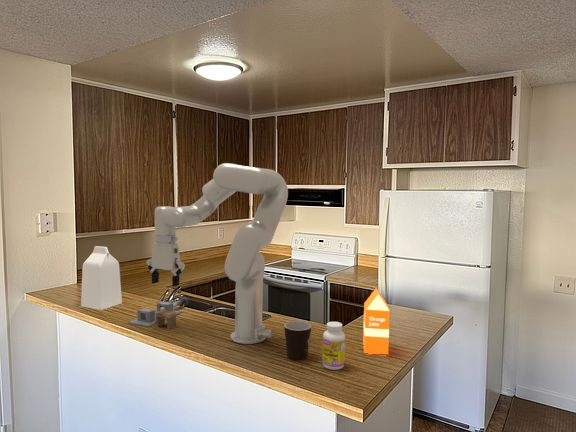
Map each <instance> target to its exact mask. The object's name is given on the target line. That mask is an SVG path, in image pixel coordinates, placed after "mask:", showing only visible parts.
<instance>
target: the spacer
mask: <svg viewBox="0 0 576 432" xmlns="http://www.w3.org/2000/svg"><path fill="white" fill-rule="evenodd" d="M165 318H167V320H165ZM166 324H167V325H166ZM164 325H166V329H168V330H171V329H173V328H175V327H177V315H176V312H173V311H167V310H161V311H158V312H156V324H155V327H156V328H159V327H161V326H164Z"/></svg>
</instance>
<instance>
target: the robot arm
mask: <svg viewBox="0 0 576 432" xmlns="http://www.w3.org/2000/svg"><path fill="white" fill-rule="evenodd" d="M212 177H213V178H212V179H211V180H209V181H208V182H207V183H205V184H204V185H203V186H202V196H201V197H200V198H199V199H198V200H197V201H195V202H193V203H192V204H191V205H185V206H168V205H167V206H166V205H165V206H161V205H160V206H156V208H155V209H154V243H153V245H152V252H151V258H149V259H147V260H146V261H145V263H146V265H147V268H148V270H149V273H150V274H151V284H157V283H159V281H160V277H159V276H160V273H159V270H163V271H170V272H171V273H172V274H173V275H172V280H171V281H172V282H171V283H172V288H174V287H177V286H180V276H181V274H182V273H183V272H184V269H185V266H186V264H185V263H184V262H182V260H181V256H180V248H179V247H180V246H179V243H177V241H178V237H177V235H176V233H177V232H176V231H177V229H178V228H184V227H185V228H186V227H192V226H196V225H198V224H200V223H201V222H203V221H204V220H206V219H207V218H208V217H209V216H210V215H212V214H213V213H214V212H215V211H216V210H217V208H218V206H219V205H220V204H222V203H223V202H224V201H226V200H227V199H228V198H230V197H231V196H233V194H235V193H237V192H241V193H245V194H252V195H263V198H262V200H261V202H260V203H259V204H258V206H257V209H256V212H255V214H254V217H253V219H252V221H251V222H247V223H245V224H243V225H242V226H241V227H239V228H238V229H237V231H236V233H235V235H234V237H233V241H232V243H231V244H230V247H229V250H228V253H227V255H226V259H225V261H224V273H225V275H226V277H227V278H228V279H229V280H230V281H233V282H235V292H234V293H235V294H234V295H235V297H234V298H235V299H234V306H235V307H234V311H235V312H234V313H235V314H234V331H233V332H232V333H230V340H231V341H232V342H234V343H237V344H242V345H253V344H259V343H261V342H263V341H265V340H266V339H267V338H268V339H269V338H272V335H273V334H272V330H271V329H266V328H265V327H266V325H265V324H263V291H264V289H263V287H264V275H265V267H266V260H265V257H264V255H263V253H261V252H260V250H262V249H265V248H267V247H269V246H270V245H271V243H272V241H273V239H274V236H275V233H276V231H277V229H278V225H279V224H280V220H281V218H282V215H283V213H284V210H285V207H286V205H287V201H288V197H289V189H288V185H287V182H286V181H285V179H284V177H283V176H282V175H281V174H280V173H279V172H278V171H276V170H274V169H269V168H262V167H255V166H254V167H253V166H246V165H240V164H238V163H237V164H236V163H230V162H229V163H228V162H224V163H221V164H219V165H218V166H217V167H216V168H215V169H214V172H213V175H212ZM176 228H177V229H176Z"/></svg>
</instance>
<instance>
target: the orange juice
mask: <svg viewBox="0 0 576 432" xmlns="http://www.w3.org/2000/svg"><path fill="white" fill-rule="evenodd" d="M363 305H364V306H363V308H364V309H363V336H362V337H363V340H362V345H364V346H363V354H364V353H368V354H367V355H372V354H388V355H389V339H390V308H389V306H388V303H387V302H386V300H385V299H384V297H383V295H382V294H381V293H380V291H379V290H378V288H377V287H375V289H374V290H373V291H372V292H371V294H370V295H369V297H368V298H367V299H366V300H365V302H364V303H363Z"/></svg>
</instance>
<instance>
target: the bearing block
mask: <svg viewBox="0 0 576 432" xmlns="http://www.w3.org/2000/svg"><path fill="white" fill-rule="evenodd" d="M163 306H166V310H167V311H173V312H176V316H178V315H180V314H182V312H183V311H181V310H175V309H174V308H173V302H169V301H158V302H157V303H156V310H155V309H150V308H146V307H145V308H144V307H143V308H140V309H137V317H136V318H134V319H133V320H130V321H127V324H128V325H133V326H139V327H144V328H150V327H153V326H156V312H158V311H160V308H161V307H163ZM165 321H167V318H165Z"/></svg>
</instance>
